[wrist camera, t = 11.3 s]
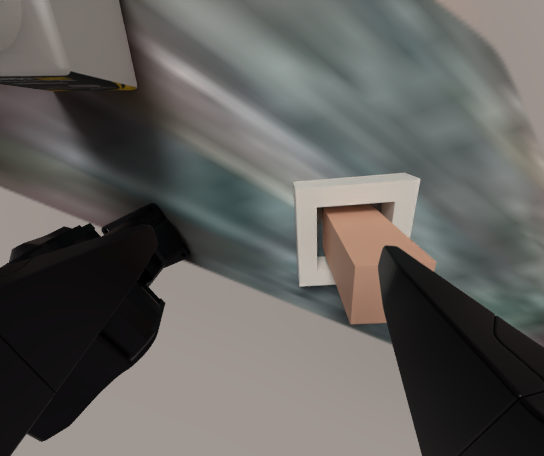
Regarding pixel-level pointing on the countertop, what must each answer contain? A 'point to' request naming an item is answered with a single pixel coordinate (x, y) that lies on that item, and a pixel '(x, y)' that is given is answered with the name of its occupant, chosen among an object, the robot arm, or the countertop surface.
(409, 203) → the socket block
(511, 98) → the countertop surface
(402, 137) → the countertop surface
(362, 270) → the plug
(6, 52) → the printed box
